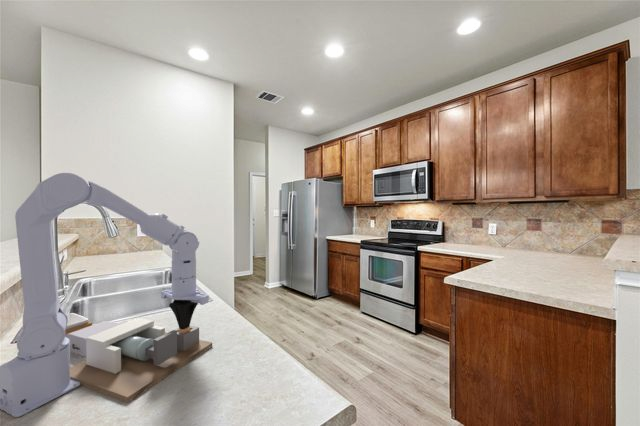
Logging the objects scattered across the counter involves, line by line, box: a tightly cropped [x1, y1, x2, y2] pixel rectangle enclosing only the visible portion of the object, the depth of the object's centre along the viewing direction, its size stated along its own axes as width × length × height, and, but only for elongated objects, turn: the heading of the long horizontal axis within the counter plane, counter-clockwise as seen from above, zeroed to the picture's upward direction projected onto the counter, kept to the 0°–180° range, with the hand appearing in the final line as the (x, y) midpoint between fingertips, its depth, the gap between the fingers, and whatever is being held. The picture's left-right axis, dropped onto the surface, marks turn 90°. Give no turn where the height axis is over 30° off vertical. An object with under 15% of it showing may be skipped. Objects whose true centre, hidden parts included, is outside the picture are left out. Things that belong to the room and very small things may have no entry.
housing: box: [85, 317, 200, 374], centre depth 66 cm, size 17×16×6 cm
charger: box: [66, 320, 128, 357], centre depth 74 cm, size 5×9×15 cm
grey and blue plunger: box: [110, 329, 177, 366], centre depth 63 cm, size 5×17×7 cm, turn 69°
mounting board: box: [70, 331, 213, 403], centre depth 64 cm, size 22×22×1 cm
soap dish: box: [65, 312, 93, 337], centre depth 76 cm, size 12×10×5 cm
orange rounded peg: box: [179, 327, 190, 333], centre depth 69 cm, size 2×2×4 cm
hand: (184, 327), depth 69 cm, fingers closed, pressing on orange rounded peg
